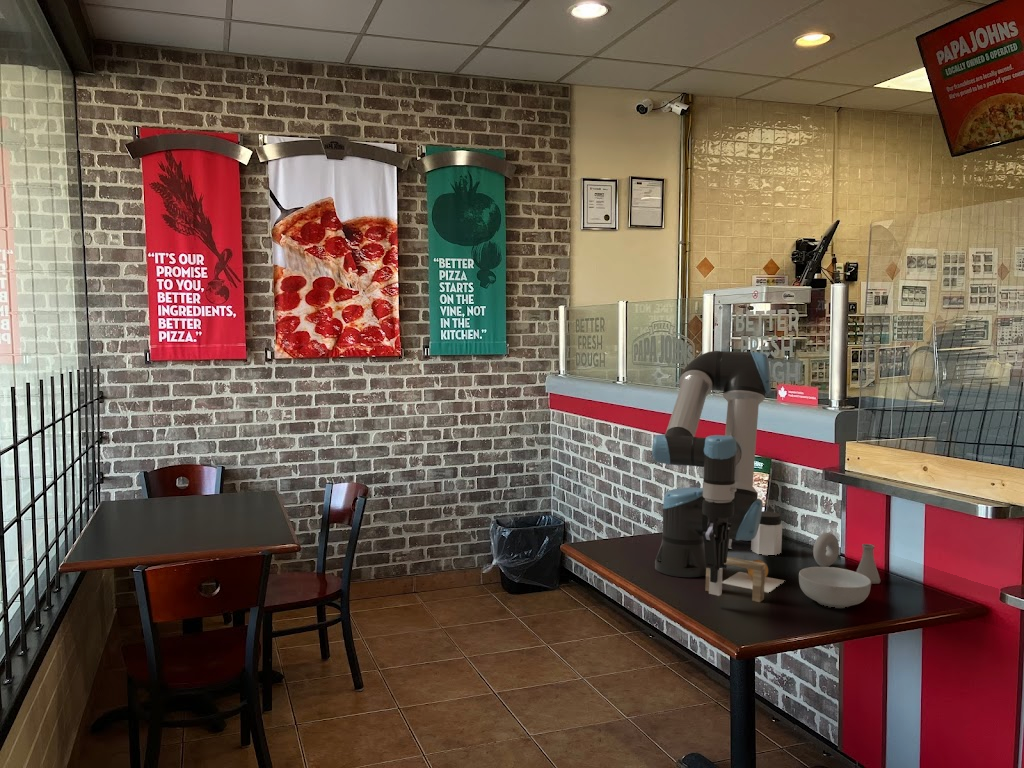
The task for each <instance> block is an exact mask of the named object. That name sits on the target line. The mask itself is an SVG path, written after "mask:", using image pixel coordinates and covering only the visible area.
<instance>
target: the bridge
mask: <svg viewBox="0 0 1024 768" xmlns="http://www.w3.org/2000/svg"><path fill="white" fill-rule="evenodd" d="M724 565H727V566H734V567H737V568H743V569H747V568H748V569H753V589H751V590H752V593H751V601H752V602H757V603H761V602H762V601H763V600H765V592H764V585H765V564H764V563H759V562H753V560H748V559H747V560H746V559H741V558H737V557H733V556H732V557H731V556H727V562H726V563H724ZM709 575H710V568H706V575H705V585H704V586H705V587H704V589H705V590H704V591H705V592H706V591H707V592H709Z"/></svg>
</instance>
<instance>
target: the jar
mask: <svg viewBox="0 0 1024 768" xmlns="http://www.w3.org/2000/svg"><path fill="white" fill-rule="evenodd" d="M782 541H783V523H782V515H781V514H780V513H778V512H775V511H774V512H773V511H766V510H762V514H761V520H760V524H759V528H758V532H757V534H756V536H755V538H754V539H753V540H750V551H751V550H752V551H751V552H752V553H755V554H757V555H759V554H762V555H761V556H768V555H775V556H777V554H778V555H780V553H781V554H782V544H783V543H782Z"/></svg>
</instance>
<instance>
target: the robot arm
mask: <svg viewBox="0 0 1024 768" xmlns="http://www.w3.org/2000/svg"><path fill="white" fill-rule="evenodd" d="M678 386H679V392H678V394H677V398H676V401H675V404H674V406H673V409H672V412H671V416H670V418H669V422H668V425H667V428H666V431H665V434H664V433H663V434H655V436H654V437H653V440H652V445H651V446H652V449H651V454H652V459H653V461H654V462H655V463H658V464H664V465H665V464H666V465H667V466H669V465H671V466H673V465H675V466H686V467H687V466H690V467H699V468H700V467H701V468H703V479H702V480H703V481H702V487H694V486H693V487H691V486H689V487H679V488H674V489H673V488H672V489H671V490H668V491H667V492H666V493H664V496H663V505H662V530H661V531H662V535H661V536H662V537H661V544H660V547H659V549H658V552H657V554H656V557H655V561H654V569H655V570H656V571H657V572H659V573H661V574H664V575H667V576H672V577H679V578H699V577H704V576H705V577H706V568H710V575H709V591H708V594H709V595H714V596H717V597H720V596H721V595H722V593H723V583H722V582H723V569H727V566H728V565H727V564H724V563H726V562H727V557H728V552H729V550H728V546H729V539H732V540H735V541H737V542H738V541H747V542H748V541H750V542H751V540H753V539H754V538H755V536H756V534H757V532H758V528H759V524H760V520H761V514H762V511H763V505H764V503H763V500H762V499H760V498H758V494H759V493H758V491H757V490H756V489H755V487H754V471H755V462H756V461H755V458H756V449H757V448H756V446H757V445H756V444H757V435H758V434H757V433H758V431H757V430H758V420H759V405H760V404H761V403H762V402H764V401H765V399H766V394H770V393H771V391H772V390H771V389H772V382H771V370H770V362H769V356H768V355H767V354H766V353H765V352H756V351H751V350H750V351H727V350H725V351H721V350H711V351H707V352H705V353H704V352H703V353H702V354H700V355H699V356H697V357H695V358H694V359H693V360H692V361H690V362H688V364H687V365H686V366H685V367H684V369H683V370H682V372H681V374H680V377H679V380H678ZM713 391H718V392H720V391H722V393H723V394H722V397H723V398H724V399H725V400H726V401H727V406H726V407H727V409H726V420H725V431H724V432H725V433H724V435H721V434H714V435H708V436H706V437H700V436H696V433H697V431H698V426H699V423H700V419H701V416H702V413H703V409H704V406H705V402H706V398H707V396H709V395H710V394H711V392H713Z"/></svg>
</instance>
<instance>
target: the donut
mask: <svg viewBox="0 0 1024 768" xmlns="http://www.w3.org/2000/svg"><path fill="white" fill-rule="evenodd" d="M812 550H813V558H814V561H815V562H816V563H817V565H819V566H820V567H831V566H832V565H833V564H835V562H836V560H837V559H838V556H839V553H840V543H839V540H838V538H837V537H836V536H835V535H834V534H833V533H831V532H823V533H821V534H819V535H818V537H816V539H815V542H814V544H813V547H812Z"/></svg>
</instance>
